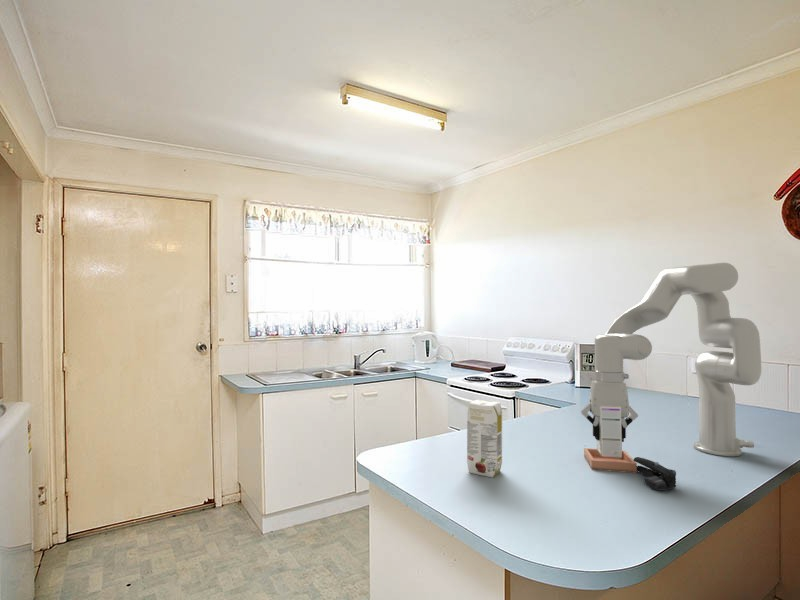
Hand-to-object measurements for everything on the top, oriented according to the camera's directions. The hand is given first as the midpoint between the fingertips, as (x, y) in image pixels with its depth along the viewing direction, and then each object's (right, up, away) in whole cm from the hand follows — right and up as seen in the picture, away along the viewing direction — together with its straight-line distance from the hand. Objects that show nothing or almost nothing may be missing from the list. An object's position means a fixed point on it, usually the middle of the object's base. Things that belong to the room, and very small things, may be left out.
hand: (609, 439), depth 131 cm
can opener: (+6, -7, -12) cm, 15 cm away
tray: (0, -7, 0) cm, 7 cm away
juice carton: (-37, -7, -7) cm, 39 cm away
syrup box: (0, -5, 0) cm, 5 cm away
